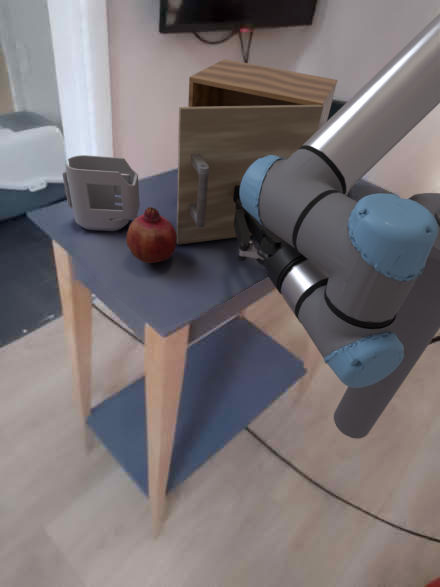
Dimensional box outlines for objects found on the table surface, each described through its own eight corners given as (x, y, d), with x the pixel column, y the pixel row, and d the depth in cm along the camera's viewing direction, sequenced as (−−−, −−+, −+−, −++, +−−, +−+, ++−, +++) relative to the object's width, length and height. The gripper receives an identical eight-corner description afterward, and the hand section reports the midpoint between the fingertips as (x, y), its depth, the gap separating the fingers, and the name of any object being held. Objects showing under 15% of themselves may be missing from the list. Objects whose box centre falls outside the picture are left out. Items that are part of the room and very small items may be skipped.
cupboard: (292, 227, 79) (323, 103, 63) (185, 199, 84) (189, 76, 68) (308, 190, 92) (337, 79, 76) (215, 167, 97) (224, 58, 81)
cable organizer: (137, 235, 72) (133, 173, 64) (68, 231, 71) (55, 168, 63) (141, 216, 77) (138, 156, 69) (76, 212, 76) (66, 151, 68)
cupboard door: (305, 244, 74) (341, 117, 59) (185, 261, 67) (191, 121, 52) (290, 227, 79) (320, 104, 63) (176, 241, 71) (178, 106, 56)
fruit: (161, 241, 71) (160, 191, 65) (185, 264, 67) (187, 213, 60) (120, 254, 67) (115, 202, 61) (143, 280, 63) (140, 227, 56)
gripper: (255, 308, 51) (200, 215, 67) (338, 292, 55) (268, 208, 71) (264, 263, 46) (203, 174, 62) (355, 248, 50) (275, 169, 66)
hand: (238, 192), depth 67 cm, fingers closed
